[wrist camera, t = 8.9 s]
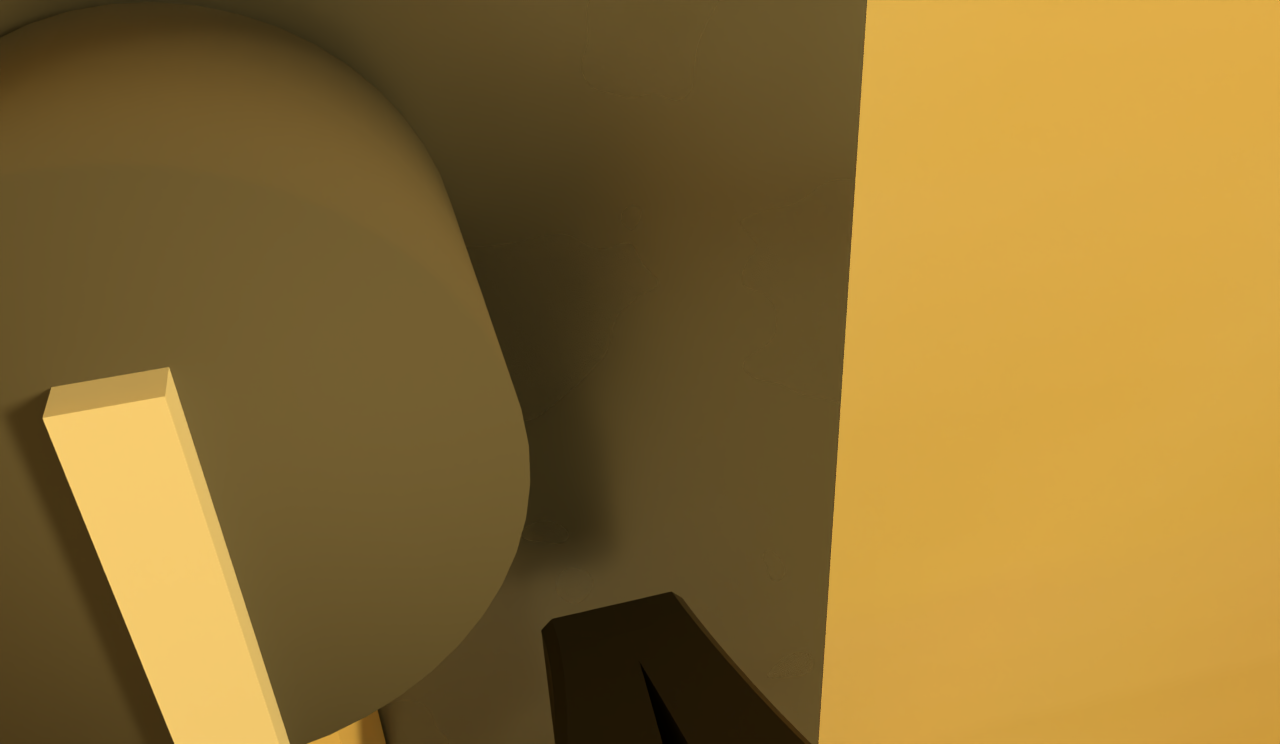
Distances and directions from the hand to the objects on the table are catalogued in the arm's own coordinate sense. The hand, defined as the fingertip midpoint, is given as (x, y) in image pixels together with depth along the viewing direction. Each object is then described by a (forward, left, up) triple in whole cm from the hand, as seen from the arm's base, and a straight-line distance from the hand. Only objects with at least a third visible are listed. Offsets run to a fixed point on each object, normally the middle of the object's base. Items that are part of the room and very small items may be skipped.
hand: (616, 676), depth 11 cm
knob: (+2, +3, -1) cm, 4 cm away
